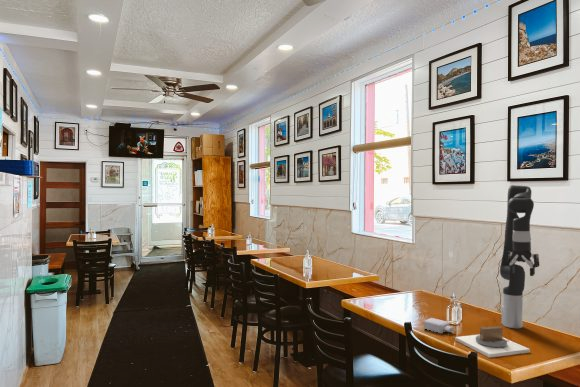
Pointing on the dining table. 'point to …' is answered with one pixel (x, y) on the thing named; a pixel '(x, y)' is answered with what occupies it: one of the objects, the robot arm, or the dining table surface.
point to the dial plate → (490, 351)
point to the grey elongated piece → (437, 325)
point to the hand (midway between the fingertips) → (522, 274)
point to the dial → (491, 337)
